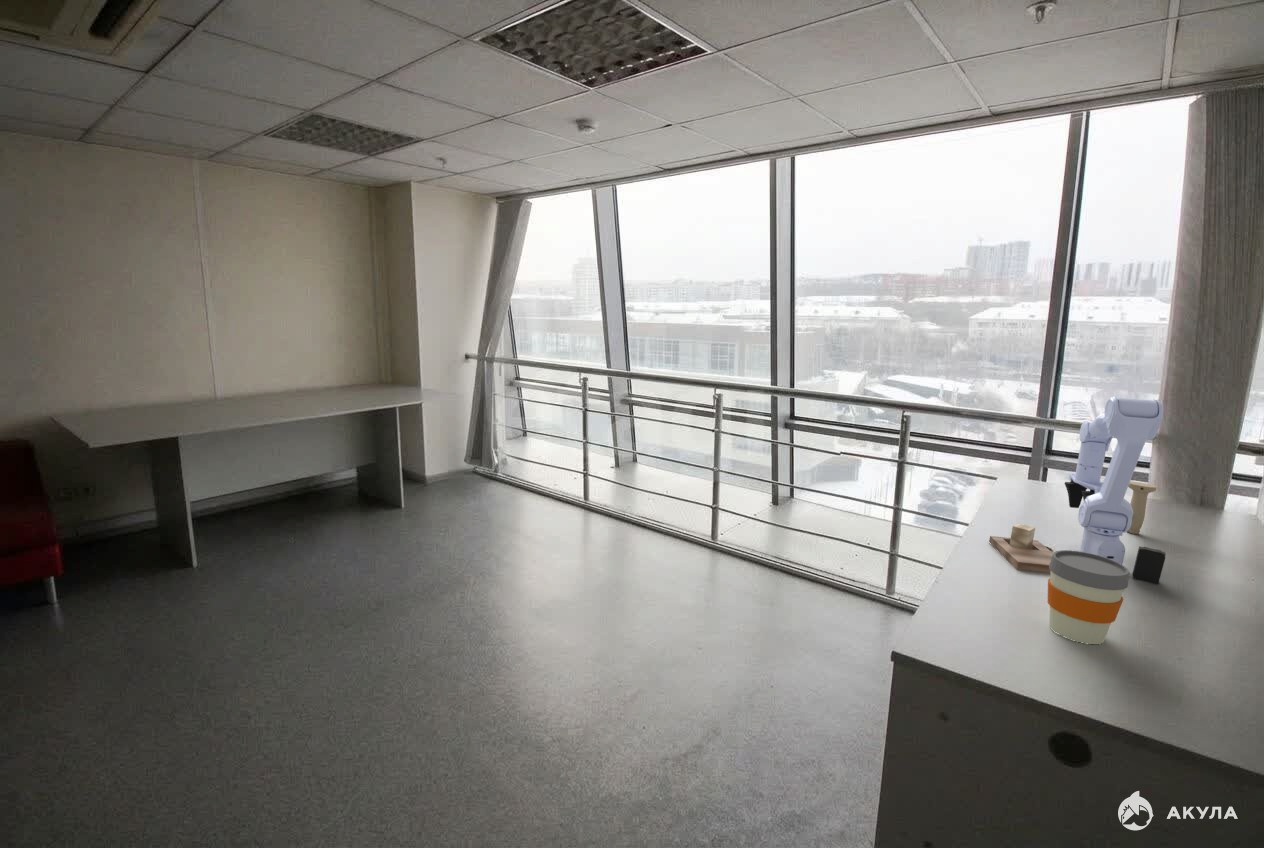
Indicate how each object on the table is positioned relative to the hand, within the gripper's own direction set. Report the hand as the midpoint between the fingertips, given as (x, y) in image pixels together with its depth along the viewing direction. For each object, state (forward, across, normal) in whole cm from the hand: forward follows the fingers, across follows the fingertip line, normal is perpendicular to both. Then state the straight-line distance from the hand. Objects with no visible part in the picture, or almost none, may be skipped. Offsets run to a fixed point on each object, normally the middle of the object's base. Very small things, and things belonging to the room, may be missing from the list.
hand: (1081, 511), depth 172 cm
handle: (+9, +12, -21) cm, 26 cm away
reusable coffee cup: (+9, -59, +28) cm, 66 cm away
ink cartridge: (+9, -26, -3) cm, 28 cm away
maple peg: (+8, -14, +20) cm, 27 cm away
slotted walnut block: (+8, -19, +20) cm, 29 cm away
